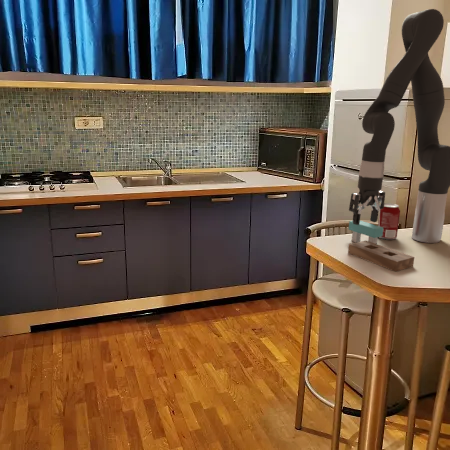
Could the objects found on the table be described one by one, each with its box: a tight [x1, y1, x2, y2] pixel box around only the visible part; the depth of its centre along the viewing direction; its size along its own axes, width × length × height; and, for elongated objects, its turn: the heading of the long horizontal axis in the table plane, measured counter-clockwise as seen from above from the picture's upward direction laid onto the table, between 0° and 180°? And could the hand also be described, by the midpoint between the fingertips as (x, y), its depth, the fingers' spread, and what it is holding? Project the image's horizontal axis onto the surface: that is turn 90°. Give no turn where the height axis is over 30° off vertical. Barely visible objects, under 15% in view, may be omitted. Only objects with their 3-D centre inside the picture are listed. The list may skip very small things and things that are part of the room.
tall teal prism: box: [348, 220, 383, 244], centre depth 151 cm, size 4×11×7 cm, turn 33°
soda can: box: [377, 202, 401, 241], centre depth 158 cm, size 7×7×12 cm
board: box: [347, 240, 415, 272], centre depth 137 cm, size 8×18×3 cm, turn 32°
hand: (364, 222), depth 150 cm, fingers open, 8 cm apart
